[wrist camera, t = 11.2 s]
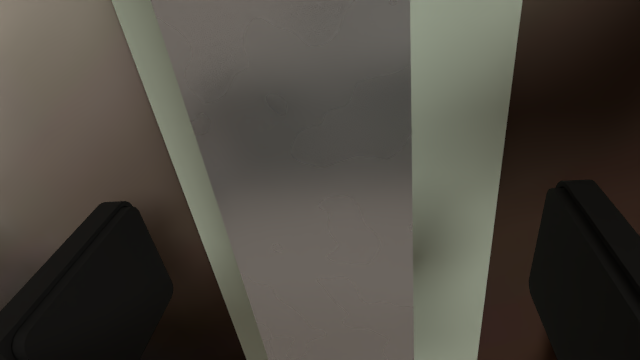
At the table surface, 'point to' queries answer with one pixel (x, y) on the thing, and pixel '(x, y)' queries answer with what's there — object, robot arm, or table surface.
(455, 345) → the sage mat
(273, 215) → the steel bar
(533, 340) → the table surface
